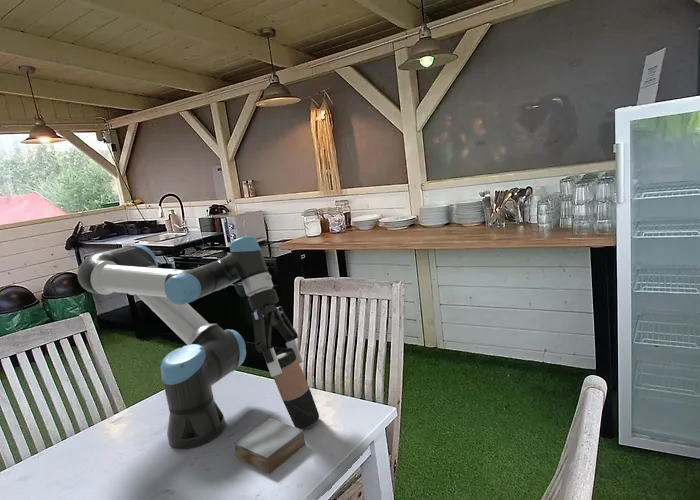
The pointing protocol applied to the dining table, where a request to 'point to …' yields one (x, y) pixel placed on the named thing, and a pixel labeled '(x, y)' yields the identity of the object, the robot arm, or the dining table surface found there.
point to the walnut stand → (270, 445)
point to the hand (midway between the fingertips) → (288, 369)
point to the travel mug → (295, 390)
